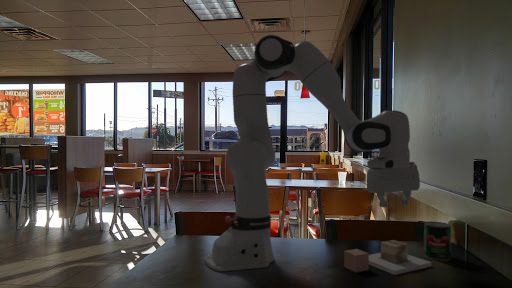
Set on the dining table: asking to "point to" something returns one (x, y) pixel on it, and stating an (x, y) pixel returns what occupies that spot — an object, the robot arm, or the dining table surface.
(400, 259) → the birch block
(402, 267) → the white flat square slab
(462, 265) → the dining table surface
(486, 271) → the dining table surface
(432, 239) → the canned tomato
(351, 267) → the terracotta block
